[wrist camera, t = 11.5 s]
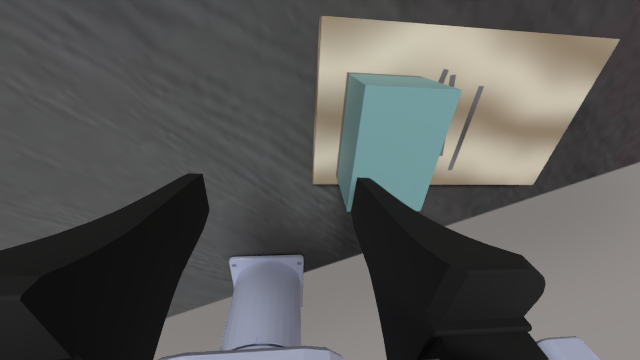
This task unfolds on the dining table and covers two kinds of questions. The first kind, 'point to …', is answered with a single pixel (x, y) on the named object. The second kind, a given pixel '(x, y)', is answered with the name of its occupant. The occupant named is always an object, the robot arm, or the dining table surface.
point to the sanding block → (393, 133)
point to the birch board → (464, 91)
